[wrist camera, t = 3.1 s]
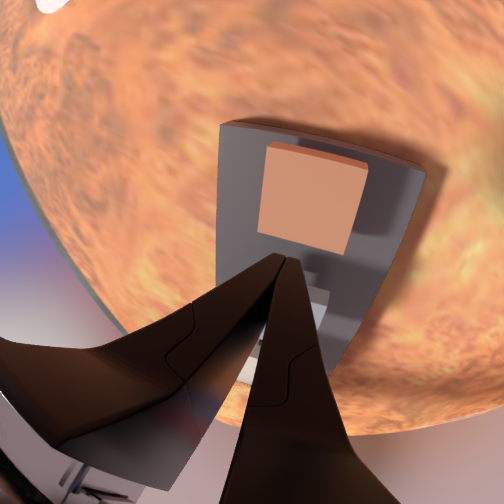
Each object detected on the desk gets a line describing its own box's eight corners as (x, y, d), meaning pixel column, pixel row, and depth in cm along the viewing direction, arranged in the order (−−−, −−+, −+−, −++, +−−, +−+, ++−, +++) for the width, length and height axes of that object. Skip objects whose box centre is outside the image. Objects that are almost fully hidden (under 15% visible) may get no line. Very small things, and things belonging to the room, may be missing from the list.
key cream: (293, 374, 23) (286, 396, 21) (245, 359, 24) (236, 379, 22) (305, 346, 20) (299, 371, 18) (249, 329, 21) (238, 352, 19)
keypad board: (331, 362, 24) (329, 375, 23) (222, 329, 26) (216, 340, 25) (420, 165, 13) (426, 173, 11) (230, 120, 15) (219, 124, 14)
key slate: (314, 326, 18) (307, 353, 17) (252, 308, 19) (240, 332, 18) (332, 279, 16) (327, 306, 14) (258, 258, 17) (245, 282, 15)
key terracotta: (345, 232, 15) (343, 255, 13) (269, 212, 16) (257, 231, 14) (366, 157, 12) (368, 170, 11) (279, 137, 13) (266, 146, 12)
